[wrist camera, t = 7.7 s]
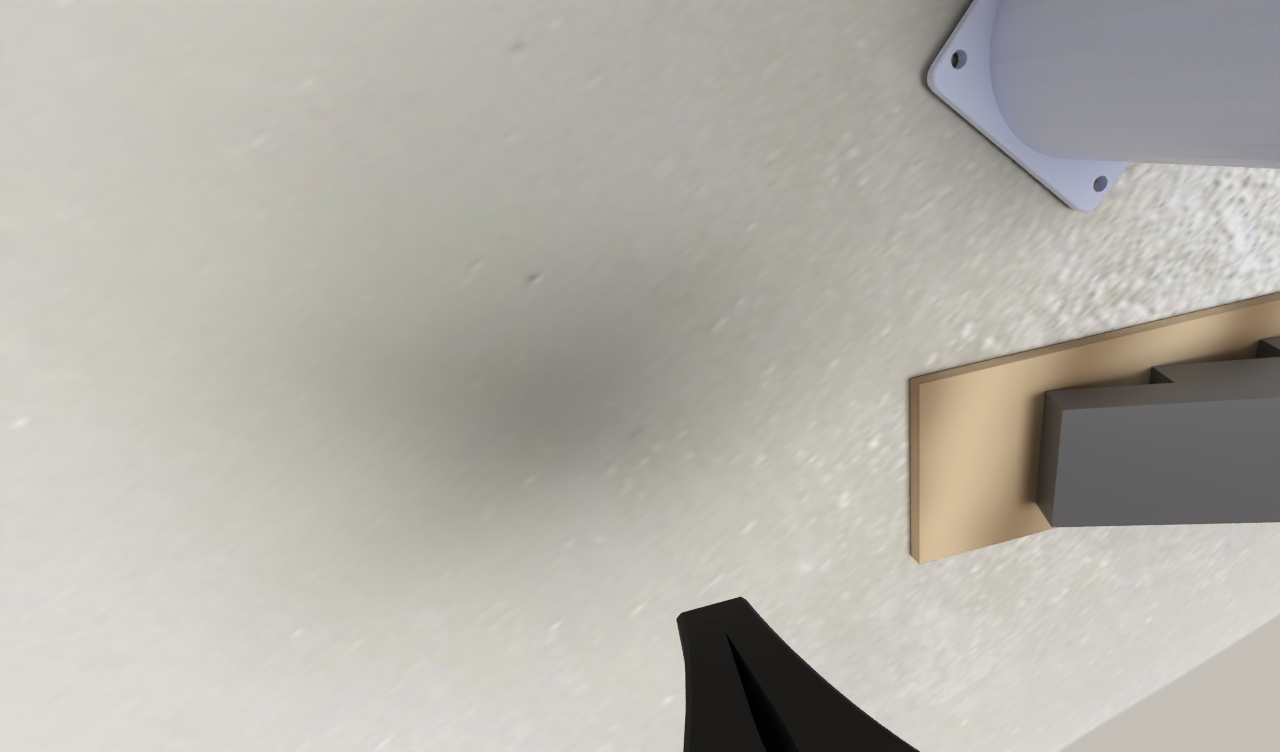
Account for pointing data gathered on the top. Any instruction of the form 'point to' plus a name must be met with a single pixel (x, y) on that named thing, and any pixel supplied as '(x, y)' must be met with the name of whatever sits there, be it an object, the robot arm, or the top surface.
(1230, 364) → the domino
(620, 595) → the top surface
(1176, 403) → the domino
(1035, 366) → the board
